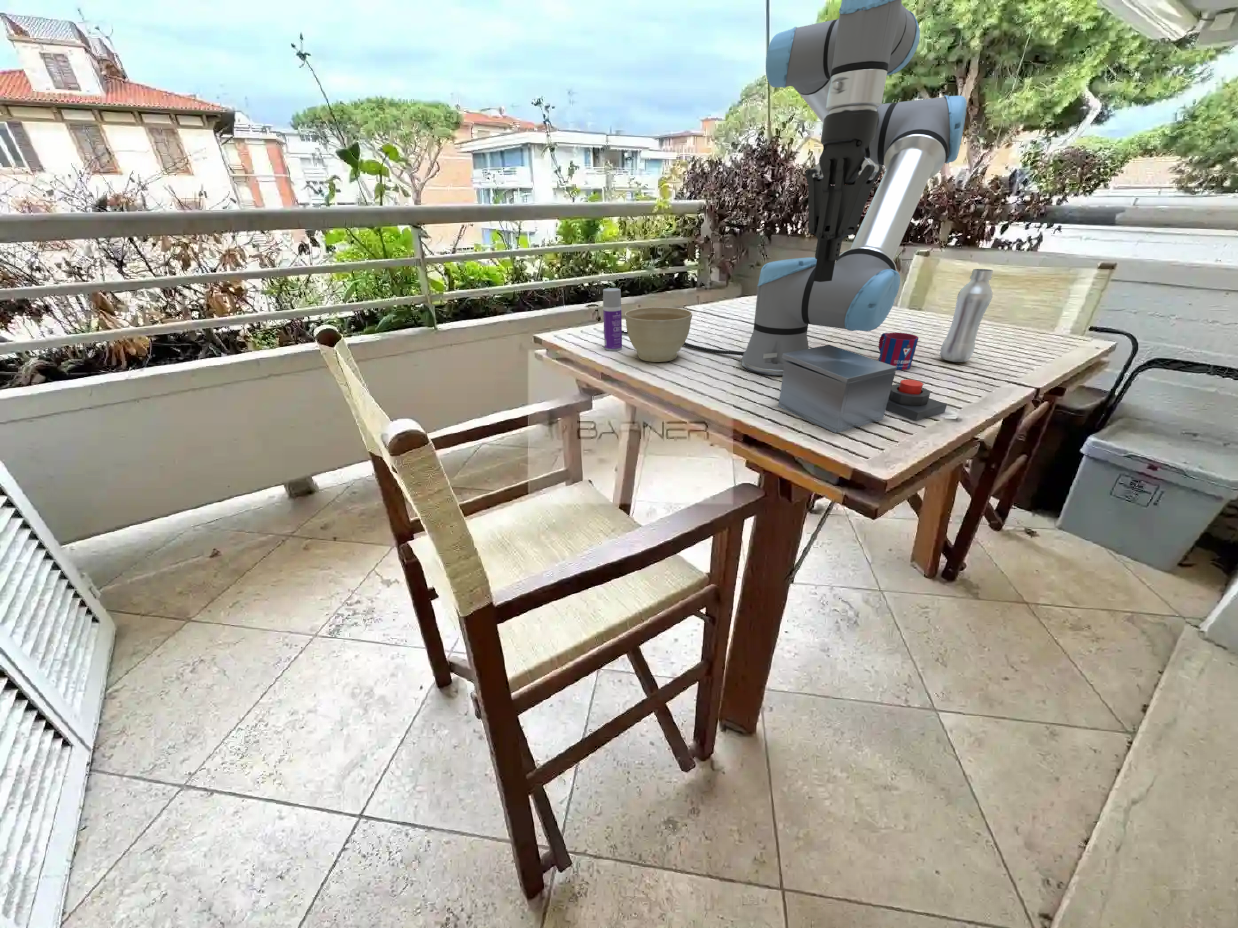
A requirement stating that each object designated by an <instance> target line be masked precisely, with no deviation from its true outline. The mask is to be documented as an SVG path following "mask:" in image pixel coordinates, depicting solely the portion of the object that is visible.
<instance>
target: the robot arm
mask: <svg viewBox="0 0 1238 928" xmlns="http://www.w3.org/2000/svg"><path fill="white" fill-rule="evenodd" d="M902 1H903V0H841V2H840V7H839V9H838V14H839V15H838V18H835V19H831V20H827V21H826V20H825V21H821V22H818V23H814V24H807V25H803V26H794V27H792V28H790V29H787V30H784V31H781V32H778V33H776V34H775V35H774V36H773V37H772V38H771V40H770V42H769V43H768V47H767V51H766V57H765V76H766V78H767V82H768V84H769V85H770V86H771V88H777V89H778V88H783V89H785V88H789V87H793V88H794V90H795V91H796V92H797V93H798V94H799V96H800V97H801V98H802V99H803V101H804V102H805V103H806V104H807V106H808V107H809V108H810V109H811V111H813V113H814V114H815V115H816V116H817V118H818V119H819V120H820V121H821V123H822V129H821V136H820V143H821V145H822V151H821V154H820V155H819V159H818V163H817V164H816V165H815V166H814V167H812V168H807V169H806V170H805V173H804V175H805V179H806V182H807V186H808V187H807V191H808V192H807V197H808V198H807V202H808V204H807V205H808V233H809V234H811V235H814V236H815V237H816V238H817V239H816V240H817V241H816V247H815V253H814V257H811V256H809V257H808V256H807V257H799V258H798V257H797V258H789V259H787V258H786V259H780V260H773V261H770V262H766V263H765V264H764V265H763V266H762V267H761V269H760V271H759V278H758V283H757V291H756V301H755V302H756V303H755V304H756V305H755V312H754V319H753V320H754V322H753V330H752V334H751V336H750V338H749V340H748V344H747V346H746V349H745V351H739V350H727V349H726V350H723V349H715V348H709V347H706V346H705V347H704V346H700V345H696V344H693V343H688V342H686V341H685V343H684V344H683V346H684V347H687V348H690V349H693V350H698V351H701V352H707V353H713V354H717V355H719V354H721V355H733V356H741V357H742V358H741V366H742V367H743V368H745V370H748V371H750V372H752V373H756V374H760V375H766V376H776V377H778V376H779V377H783V371H784V364H785V361H789V360H786V359H784V358H782V355H783V353H789V352H794V351H799V350H804V349H809V340H808V329H809V325H812V326H817V327H819V326H820V327H826V328H834V329H840V330H841V329H842V330H846V331H849V332H856V331H859V332H871V331H874V330H876V329H878V328H879V327H880V326H881V325H882V324H883V323H884V322H885V320H886V319H887V317H888V316H889V314H890V313H891V310H892V309H893V306H894V304H895V299H896V297H897V296H898V294H899V290H900V284H901V274H900V273H899V271H897V265H896V263H895V261H894V259H895V257H896V254H897V251H898V249H899V247H900V246H901V243H902V240H903V238H904V236H905V234H906V231H907V230H908V227H909V225H910V222H911V221H912V218H913V215H914V214H915V212H916V209H917V206H918V204H919V202H920V199H921V197H922V196H923V193H924V191H925V188H926V186H927V183H928V181H929V180H930V179H932V178H933V177H935V176H936V175H937V174H938V173H939V172H940V171H941V170H942V169H943V167H944V165H946V164H950V163H953V162H955V161H956V160H958V156H959V152H960V148H961V144H962V140H963V139H962V138H963V133H964V128H965V122H966V115H967V105H968V103H967V98H966V97H965V96H963V95H947V94H946V95H945V94H944V95H943V96H942V97H932V98H924V99H916V100H915V99H914V100H906V101H898V102H888V103H883V98H884V92H885V88H886V83H887V77H888V76H892V75H895V74H896V73H898V72H900V71H901V70H903V68H905V67H906V66H907V65H908V64H909V62H910V61H911V60H912V58H913V57H914V56H915V53H916V52H917V49H918V46H919V43H920V38H921V30H920V26H919V22H918V20H917V19H916V16H915V14H914V13H913V12H912V11H911V10H909V9H907V8H906V6H904V5H903V3H902ZM883 167H884V168H883ZM883 169H885V172H884V173H883V176H882V177H881V180H880V183H879V184H878V187H877V189H876V191H875V193H874V195H873V198H872V200H871V202H870V204H869V206H868V209H867V211H866V213H865V214H864V218H863V220H862V221H861V223H860V220H861V217H862V215H863V213H864V209H865V207H866V205H867V202H868V199H869V196H870V194H871V191H872V189H873V186H874V184H875V182H876V181H877V179H878V177H880V175H881V174H882V171H883ZM859 223H860V226H859ZM858 226H859V228H858ZM857 228H858V230H857ZM856 231H857V233H856ZM855 233H856V235H855V236H854V240H853V241H852V243H851V246H850V248H849V249H846V250H844V251H843V252H841V249H842V243H843V240H844V238H846V237H848V236H853V235H854V234H855ZM624 331H625V330H622V335H628V333H627V332H624Z"/></svg>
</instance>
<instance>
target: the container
mask: <svg viewBox="0 0 1238 928" xmlns="http://www.w3.org/2000/svg"><path fill="white" fill-rule="evenodd" d="M602 313H603V314H602V315H603V339H604V340H603V341H604V342H603V343H604V350H605V351H608V352H617V351H621V350H622V349H623V334H622V331H623V324H622V321H623V320H622V316H623V315H622V293H621V288H618V287H609V288H608V287H607V288H603V289H602Z"/></svg>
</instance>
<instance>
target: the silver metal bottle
mask: <svg viewBox="0 0 1238 928" xmlns="http://www.w3.org/2000/svg"><path fill="white" fill-rule="evenodd" d="M993 272H994V270H993V269H989V268H972V271H971V275H970V276H969V279H970V281H969V282H967V283H966V285H964V286H963V287H962V288H961V289H960V290H959V292H958V293H957V297H956V301H955V302H956V303H955V309H954V314H953V317H952V321H951V325H950V326H949V330H948V332H947V334H946V337H945V339H943V343H942V344H941V347H940V351H939V355H940V358H941V359H942V360H945V361H948V362H952V363H965V362H968V361H969V360H970V359H971V358H972V356H973V355H974V353H975V348H976V347H975V346H976V340H977V335H978V331H979V328H980V325H981V322H982V320H983V318H984V315H985V314H986V311H987V310H988V307H989V305H990V303H991V301H992V299H993V290H992V287H991V285H990V283H989V281H991V280H992V275H993Z"/></svg>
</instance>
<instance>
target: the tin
mask: <svg viewBox="0 0 1238 928" xmlns="http://www.w3.org/2000/svg"><path fill="white" fill-rule="evenodd" d="M895 376H896V371H895V372H891V373H887V374H883V375H879V376H874V377H870V378H866V379H862V380H858V381H854V382H849V383H845V382H842V381H840V380H837V379H835V378H832V377H829V376H827V375H824V374H822V373H819V372H817V371H814V370H812V369H809V368H807V367H804V366H802V365H799V364H797V363H794V362H792V361H785V364H784V371H783V376H781V385H780V392H779V398H778V405H777V406H778V408H780V409H783V410H785V411H787V412H789V413H791V414H793V415H795V416H798V417H800V418H802V419H804V420H806V421H808V422H810V423H812V424H815V425H817V426H819V427H821V428H823V429H825V430H828V431H829V432H831V433H834V434H838V433H841V432H845V431H848V430H852V429H855V428H856V429H857V428H859V427H862V426H866V425H869V424H873V423H875V422H876V423H877V422H879V421H883V420H884V417H885V413H886V411H887V410H886V406H887V402H888V399H889V395H890V391H891V387H892V385H894V379H895Z"/></svg>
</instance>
